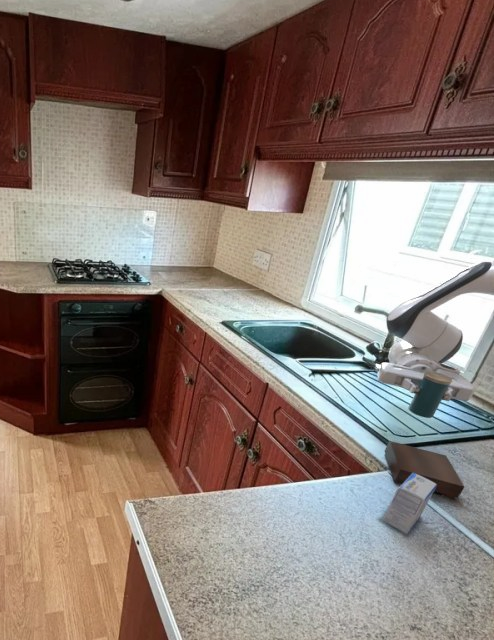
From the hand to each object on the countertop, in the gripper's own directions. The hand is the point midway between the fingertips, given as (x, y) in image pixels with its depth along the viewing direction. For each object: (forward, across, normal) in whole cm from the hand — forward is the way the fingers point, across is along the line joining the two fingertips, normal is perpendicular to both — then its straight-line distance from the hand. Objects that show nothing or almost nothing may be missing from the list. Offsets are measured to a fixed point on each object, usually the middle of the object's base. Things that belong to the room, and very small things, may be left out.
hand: (431, 394), depth 96 cm
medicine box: (+30, -7, +16) cm, 34 cm away
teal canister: (-1, 0, +6) cm, 6 cm away
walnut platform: (+12, 0, +16) cm, 20 cm away
